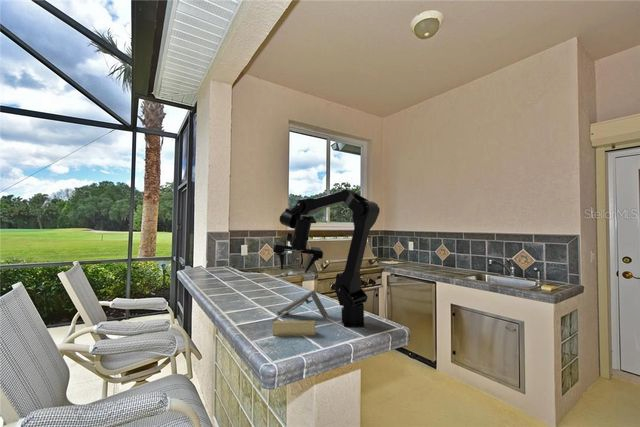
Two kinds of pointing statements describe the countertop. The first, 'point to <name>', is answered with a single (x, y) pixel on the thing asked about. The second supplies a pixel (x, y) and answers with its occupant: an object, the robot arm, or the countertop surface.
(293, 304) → the bracket
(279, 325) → the tan wooden block
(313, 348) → the countertop surface
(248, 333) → the countertop surface
